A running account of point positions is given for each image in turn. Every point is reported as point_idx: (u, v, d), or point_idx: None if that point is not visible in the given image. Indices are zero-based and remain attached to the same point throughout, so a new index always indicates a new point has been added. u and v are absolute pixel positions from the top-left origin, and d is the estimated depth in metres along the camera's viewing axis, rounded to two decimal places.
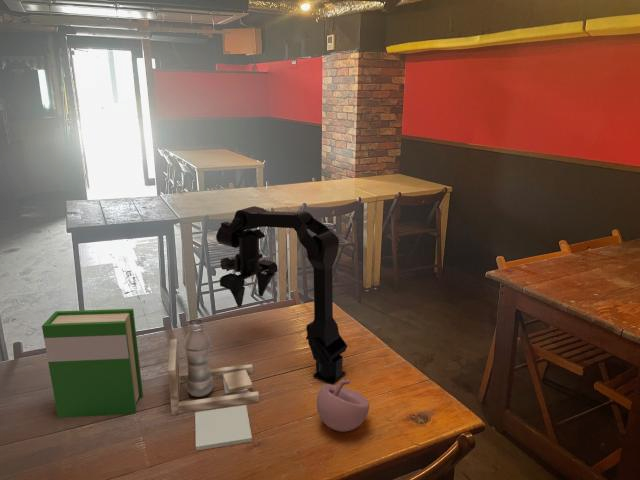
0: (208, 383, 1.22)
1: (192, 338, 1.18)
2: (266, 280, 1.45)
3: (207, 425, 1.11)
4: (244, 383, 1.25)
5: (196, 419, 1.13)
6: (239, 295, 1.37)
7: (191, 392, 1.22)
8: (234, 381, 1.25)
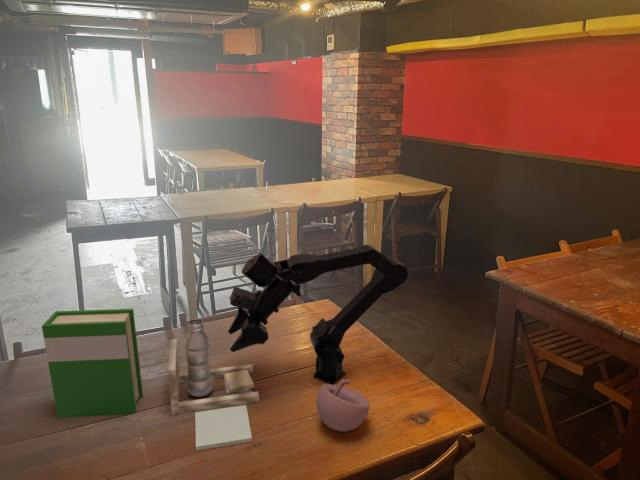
0: (208, 383, 1.22)
1: (192, 338, 1.18)
2: None
3: (207, 425, 1.11)
4: (245, 383, 1.25)
5: (196, 419, 1.13)
6: (249, 344, 1.18)
7: (191, 392, 1.22)
8: (235, 381, 1.25)
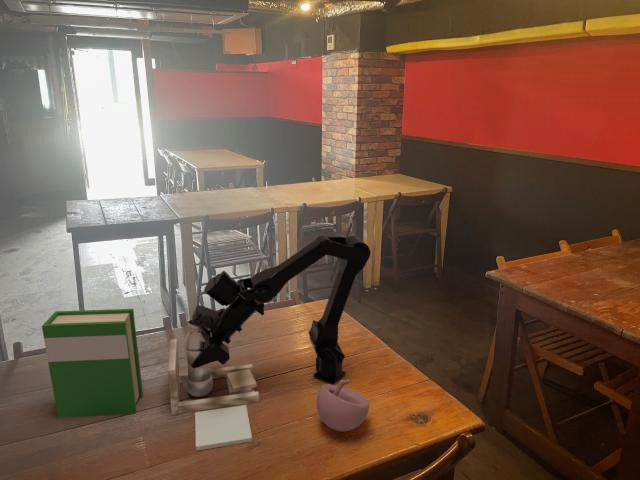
0: (208, 383, 1.22)
1: (192, 338, 1.18)
2: None
3: (207, 425, 1.11)
4: (248, 382, 1.25)
5: (196, 419, 1.13)
6: (210, 361, 1.18)
7: (191, 392, 1.22)
8: (238, 380, 1.26)
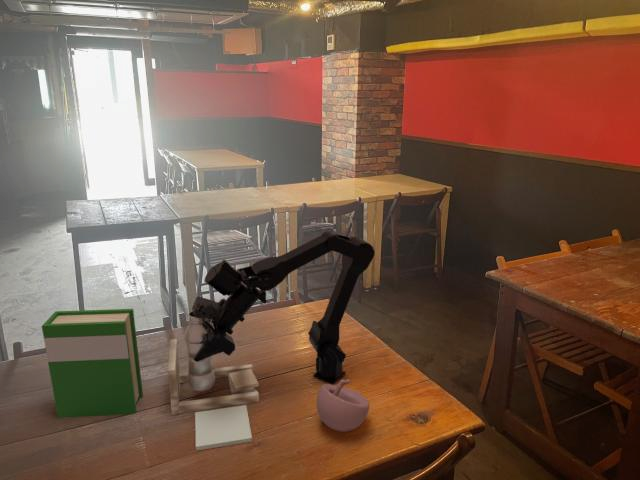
0: (210, 376, 1.18)
1: (193, 331, 1.14)
2: None
3: (207, 425, 1.11)
4: (250, 382, 1.25)
5: (196, 419, 1.13)
6: (214, 353, 1.14)
7: (193, 387, 1.18)
8: (240, 380, 1.26)
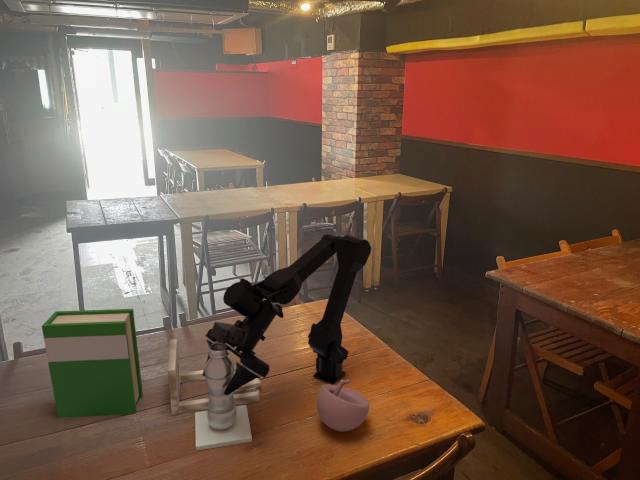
0: (235, 410, 1.10)
1: (219, 366, 1.04)
2: None
3: (207, 425, 1.11)
4: (252, 381, 1.25)
5: (196, 419, 1.13)
6: (246, 382, 1.05)
7: (219, 426, 1.08)
8: None
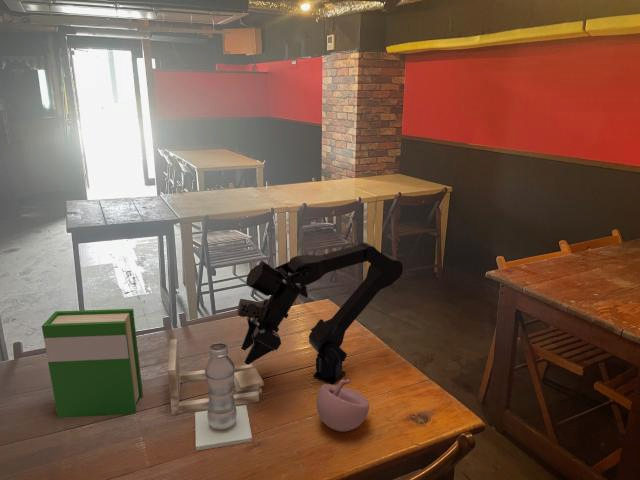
0: (235, 410, 1.10)
1: (219, 365, 1.05)
2: None
3: (207, 425, 1.11)
4: (255, 381, 1.25)
5: (196, 419, 1.13)
6: (263, 353, 1.14)
7: (219, 426, 1.08)
8: (245, 379, 1.26)
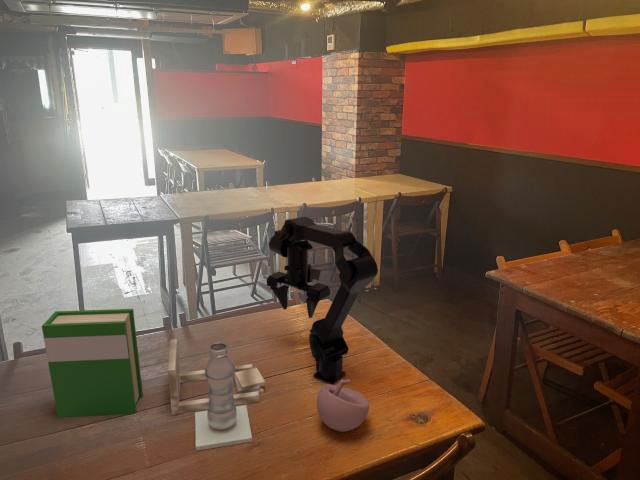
0: (235, 410, 1.10)
1: (219, 365, 1.05)
2: None
3: (207, 425, 1.11)
4: (257, 381, 1.26)
5: (196, 419, 1.13)
6: None
7: (219, 426, 1.08)
8: (246, 379, 1.26)
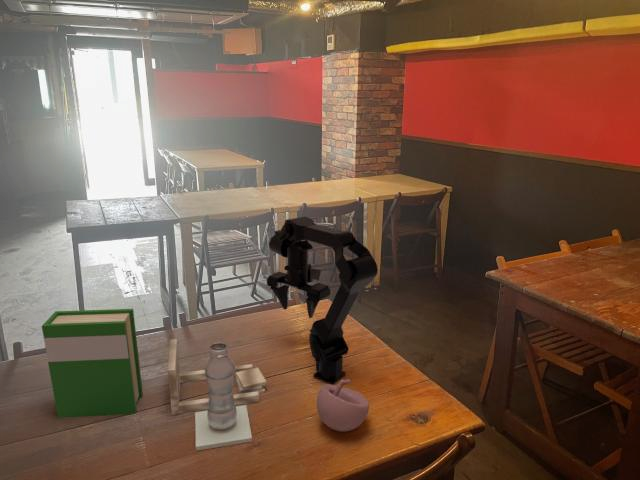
0: (235, 410, 1.10)
1: (219, 365, 1.05)
2: None
3: (207, 425, 1.11)
4: (258, 380, 1.26)
5: (196, 419, 1.13)
6: None
7: (219, 426, 1.08)
8: (248, 379, 1.26)
